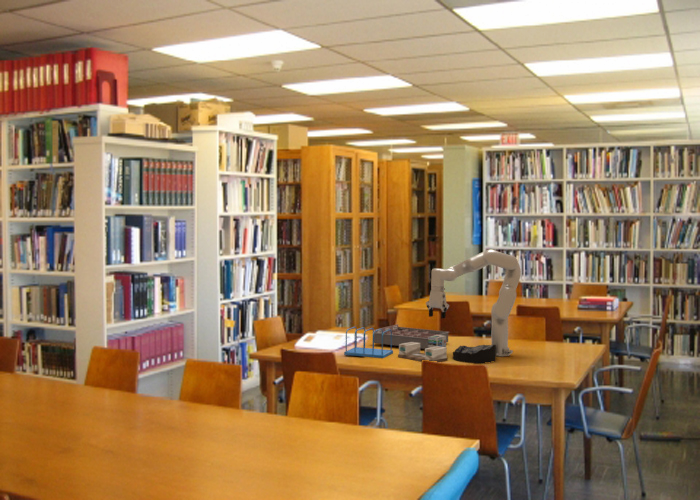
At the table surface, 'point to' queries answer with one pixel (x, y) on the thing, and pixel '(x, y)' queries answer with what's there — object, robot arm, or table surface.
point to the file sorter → (368, 351)
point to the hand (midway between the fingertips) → (437, 317)
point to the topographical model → (475, 354)
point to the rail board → (413, 353)
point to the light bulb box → (436, 341)
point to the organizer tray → (406, 335)
